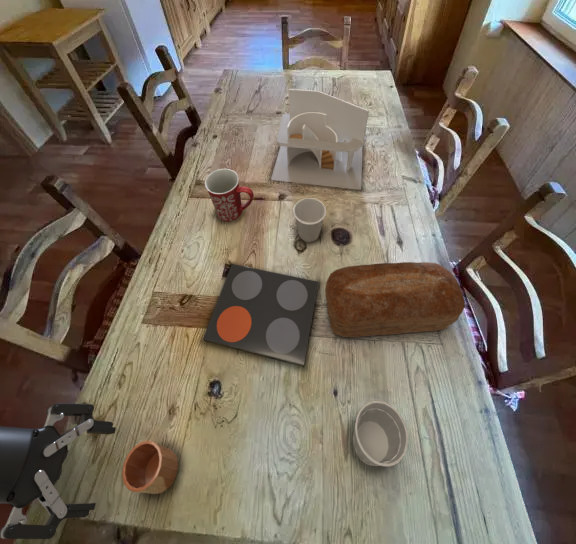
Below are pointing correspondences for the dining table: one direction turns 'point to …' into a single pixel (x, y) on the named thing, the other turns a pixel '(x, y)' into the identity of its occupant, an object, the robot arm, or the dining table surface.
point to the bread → (392, 299)
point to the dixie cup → (309, 218)
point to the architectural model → (321, 141)
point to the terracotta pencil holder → (149, 468)
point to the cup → (380, 435)
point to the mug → (227, 194)
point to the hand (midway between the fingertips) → (104, 466)
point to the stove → (264, 314)
